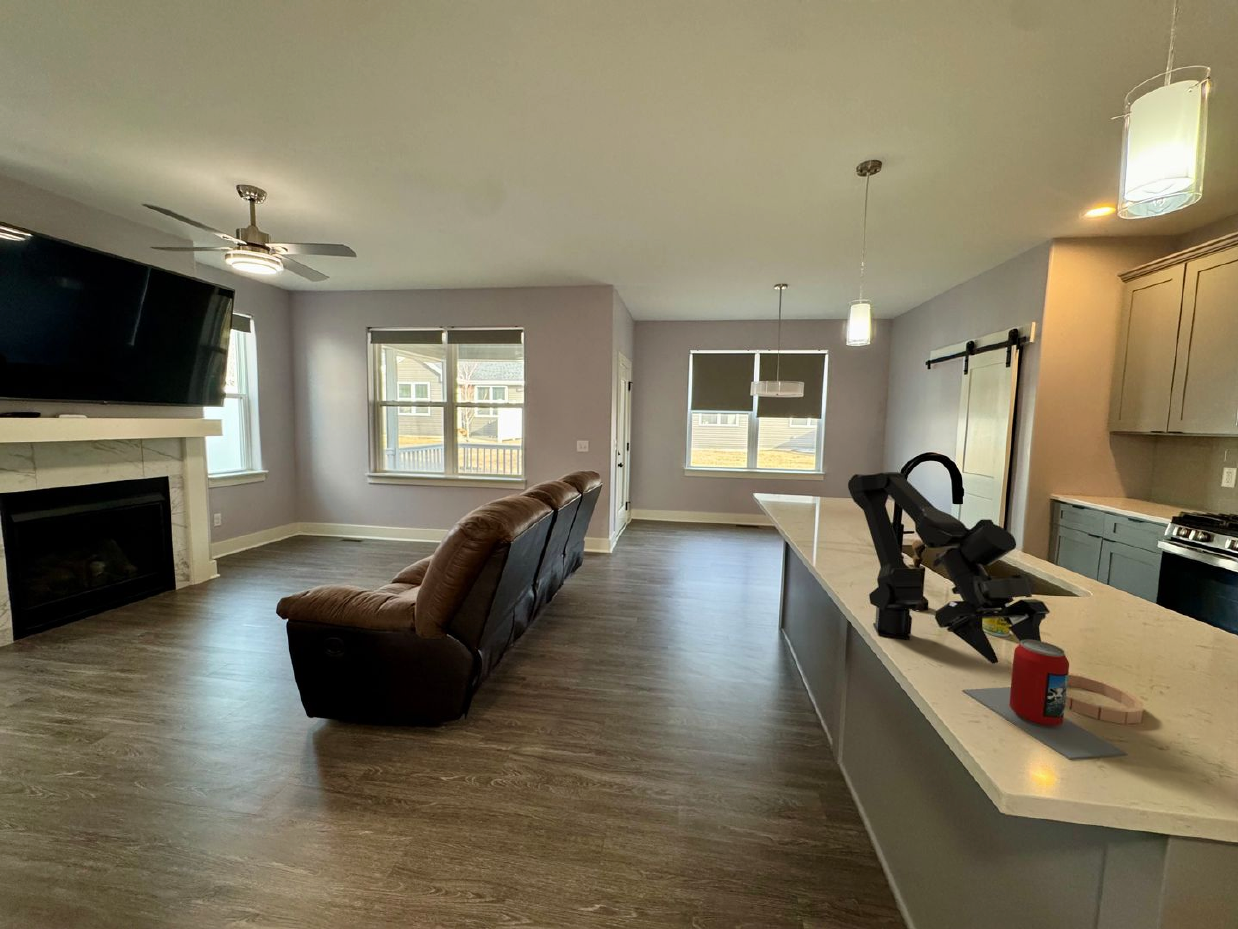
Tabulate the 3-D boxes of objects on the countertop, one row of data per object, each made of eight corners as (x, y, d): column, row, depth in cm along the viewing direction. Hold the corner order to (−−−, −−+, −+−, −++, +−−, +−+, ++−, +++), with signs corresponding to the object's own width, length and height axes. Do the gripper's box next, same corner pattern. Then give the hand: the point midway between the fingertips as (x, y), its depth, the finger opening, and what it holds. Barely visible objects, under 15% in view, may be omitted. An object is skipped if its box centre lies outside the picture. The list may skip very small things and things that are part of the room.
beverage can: (1064, 736, 74) (1072, 660, 73) (1008, 718, 78) (1015, 647, 77) (1061, 716, 79) (1068, 646, 78) (1008, 701, 84) (1014, 634, 83)
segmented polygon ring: (1063, 713, 81) (1064, 702, 81) (1025, 676, 93) (1026, 666, 93) (1163, 730, 77) (1165, 718, 77) (1109, 689, 89) (1110, 679, 89)
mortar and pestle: (894, 602, 133) (899, 537, 131) (916, 602, 133) (921, 538, 132) (910, 611, 126) (916, 543, 125) (934, 611, 127) (939, 544, 125)
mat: (962, 691, 87) (962, 689, 87) (1010, 688, 88) (1010, 687, 88) (1069, 759, 69) (1069, 757, 69) (1126, 754, 71) (1127, 752, 71)
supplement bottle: (992, 627, 117) (996, 588, 116) (1015, 636, 112) (1019, 596, 111) (974, 628, 116) (978, 589, 115) (996, 638, 111) (1000, 597, 110)
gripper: (954, 557, 84) (1007, 647, 74) (1045, 556, 87) (1107, 643, 77) (915, 585, 92) (958, 670, 83) (999, 584, 95) (1051, 665, 85)
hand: (1019, 661), depth 82 cm, fingers open, 9 cm apart
